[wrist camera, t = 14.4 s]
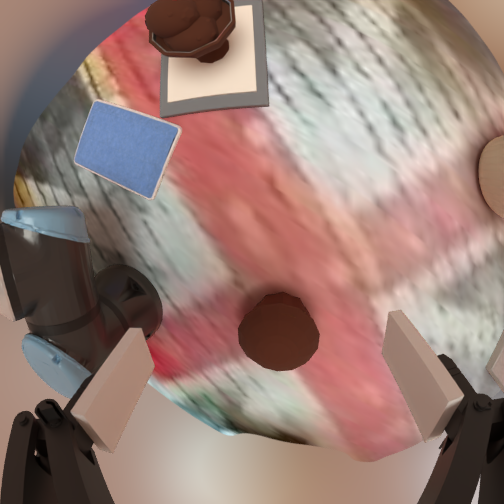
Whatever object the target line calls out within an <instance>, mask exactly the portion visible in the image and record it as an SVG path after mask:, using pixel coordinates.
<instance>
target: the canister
mask: <svg viewBox="0 0 504 504" xmlns="http://www.w3.org/2000/svg"><path fill="white" fill-rule="evenodd" d="M478 171H479V176H478V177H479V183H480V188H481V190H482V194H483V196H484V199H485V201H486V202H487V204H488V205H489V206H490V208H491V209H492V210H493V211H494V212H495V213H496V214H497V215H499V216H501V217H502V218H504V135H502V136H499V137H496V138H494V139H493V140H491V141H490V142H489V143H488V144H487V145H486V146H485V148H484V149H483V152H482V154H481V158H480V162H479V170H478Z"/></svg>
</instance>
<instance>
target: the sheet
mask: <svg viewBox="0 0 504 504" xmlns="http://www.w3.org/2000/svg"><path fill="white" fill-rule="evenodd" d="M235 19H236V27H235V28H234V30H233V31H232V33H231V34H230V35H229V36H228V38H227V40H228V41H229V51H228V52H227V53H226V55H225V56H224V57H223V59H220V60H218V61H216V62H214V63H201V62H200V61H199V60H197V59H196V58H175V57H169V60H168V103H172V102H178V101H183V100H189V99H196V98H203V97H210V96H218V95H227V94H237V93H249V92H257V86H256V65H255V45H254V27H253V9H252V5H246V6H237V7H235Z"/></svg>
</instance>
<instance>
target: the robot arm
mask: <svg viewBox="0 0 504 504" xmlns="http://www.w3.org/2000/svg"><path fill="white" fill-rule="evenodd" d="M1 220H2V222H3V223H1V224H0V315H3V316H5V317H6V318H8V319H10V320H12V321H13V322H15V321H17V320H20V319H22V318H25V319H26V322H27V324H28V327H29V330H30V333H28V334H26V335H25V337H24V339H23V340H22V350H23V353H24V355H25V358H26V359H27V361H28V363H29V364H30V366H31V367H32V368H33V370H34V371H35V372H36V373H37V375H38V376H39V377H40V378H41V379H42V380H43V381H44V382H45V383H46V384H47V385H49V386H50V387H51V388H52V389H54V390H55V391H57V392H58V393H60V394H61V395H63V396H65V397H67V398H70V399H71V400H70V401H69V403H68V404H67V405H66V407H65V408H64V410H62V409H61V407H60V406H59V404H58V403H57V402H56V401H55V400H53V399H45V400H43V401H41V402H40V403H39V404H38V405H37V406H36V408H35V414H36V415H37V416H38V417H39V419H36V418H35V417H34V416H33V414H32V413H31V412H29V411H23V412H21V413H19V414H18V415H17V416H16V417H15V419H14V422H13V425H12V430H11V434H10V438H9V443H8V448H7V453H6V458H5V464H4V470H3V478H2V487H1V499H0V504H115V503H114V501H113V499H112V497H111V494H110V492H109V490H108V488H107V485H106V482H105V480H104V477H103V475H102V472H101V470H100V467H99V464H98V461H97V458H96V456H95V452H94V451H93V449H92V448H91V447H92V445H93V443H95V445H96V446H97V447H98V448H99V449H100V450H103V451H106V452H109V453H114V450H115V448H116V446H117V444H118V442H119V440H120V437H121V435H122V433H123V431H124V429H125V427H126V424H127V422H128V420H129V418H130V416H131V414H132V412H133V410H134V408H135V406H136V404H137V402H138V400H139V397H140V395H141V393H142V391H143V389H144V387H145V385H146V383H147V381H148V379H149V377H150V375H151V373H152V371H153V369H154V367H155V365H154V362H153V360H152V357H151V354H150V352H149V349H148V346H147V343H146V340H148V339H149V338H150V337H151V336H152V335H153V334H154V333H155V332H156V330H157V329H158V328H159V326H160V324H161V320H162V306H161V302H160V299H159V296H158V294H157V292H156V290H155V288H154V287H153V285H152V284H151V283H150V282H149V280H148V279H147V278H146V277H145V276H144V275H142V274H141V273H140V272H138V271H137V270H135V269H133V268H131V267H129V266H126V265H119V264H117V265H111V266H109V267H107V268H105V269H103V270H102V271H100V272H99V273H98V274H97V275H96V276H95V277H94V272H93V266H92V259H91V253H90V245H89V243H90V239H89V238H88V234H87V228H86V222H85V216H84V214H83V212H82V211H81V210H80V209H79V208H77V207H75V206H39V207H24V208H16V209H7V210H4V211H3V213H2V217H1ZM382 355H383V357H384V359H385V361H386V362H387V364H388V366H389V368H390V370H391V372H392V374H393V376H394V378H395V380H396V382H397V384H398V386H399V388H400V390H401V392H402V394H403V396H404V398H405V400H406V402H407V405H408V407H409V409H410V411H411V413H412V415H413V417H414V420H415V422H416V424H417V426H418V428H419V431H420V433H421V435H422V437H423V440H424V442H425V443H426V442H429V441H431V440H434V439H436V438H439V437H440V436H441V434H442V433H443V431H444V430H445V431H446V433H447V436H446V438H445V439H444V441H443V442H442V444H441V445H440V447H439V449H441V448H442V449H441V452H440V454H439V457H438V460H437V462H436V465H435V467H434V469H433V472H432V474H431V476H430V479H429V481H428V483H427V485H426V488H425V489H424V492H423V493H422V496H421V497H420V499H419V501H418V503H417V504H471V502H472V499H473V496H474V493H475V490H476V487H477V484H478V481H479V478H480V490H479V499H478V504H504V398H501V399H494V400H492V399H491V398H490V397H489V396H488V395H485V394H477V393H476V392H475V390H474V389H473V388H472V386H471V385H470V383H469V382H468V381H467V379H466V378H465V376H464V375H463V374H461V371H460V370H459V368H457V366H456V364H455V363H454V362H453V360H452V359H451V358H449V357H447V356H446V355H444V354H441V355H438V356H437V355H436V354H435V353H434V351H433V350H432V349H431V347H430V346H429V345H428V343H427V342H426V341H425V339H424V338H423V337H422V336H421V334H420V333H419V332H418V330H417V329H416V328H415V327H414V325H413V324H412V323H411V322H410V320H409V319H408V318H407V317H406V315H405V314H404V313H403V312H402V310H398V311H392V312H389V313H388V320H387V326H386V332H385V338H384V343H383V348H382ZM35 450H36V451H37V455H36V456H35V455H34V453H35ZM480 474H481V477H480Z"/></svg>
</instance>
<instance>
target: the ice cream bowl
mask: <svg viewBox="0 0 504 504" xmlns="http://www.w3.org/2000/svg"><path fill="white" fill-rule="evenodd" d="M145 19H146V20H145V23H146V26H147V29H148V30H149V43H151V44H152V45H153V46H154V47H155V48H156V49H157V50H158V51H159V52H161V53H162V54H163V55H164V56H167V57H175V58H196V59H197V60H199V61H200V62H201V63H214V62H216V61H218V60H220V59H223V57H224V56H225V55H226V53H227V52H228V51H229V41H228V40H227V38H228V36H229V35H230V34H231V33H232V31H233V30H234V28H235V27H236V19H235V7H234V1H233V0H158V1H156V2H154V3H153V4H151V6H150V7H149V8H148V11H147V13H146V15H145Z"/></svg>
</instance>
